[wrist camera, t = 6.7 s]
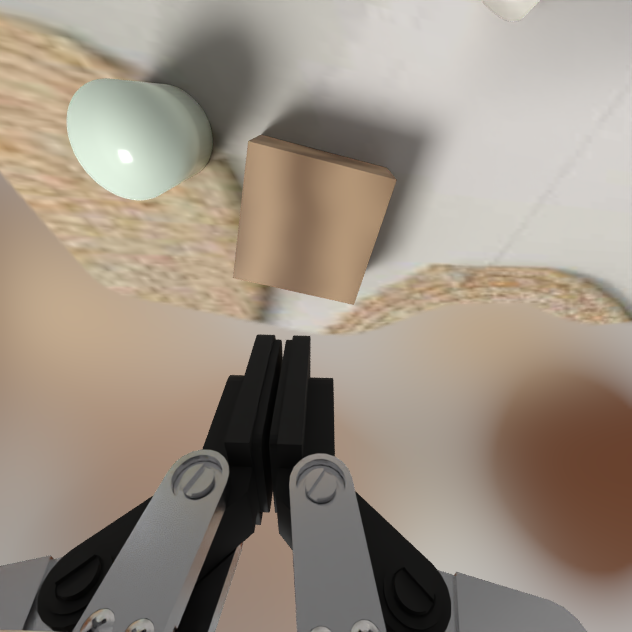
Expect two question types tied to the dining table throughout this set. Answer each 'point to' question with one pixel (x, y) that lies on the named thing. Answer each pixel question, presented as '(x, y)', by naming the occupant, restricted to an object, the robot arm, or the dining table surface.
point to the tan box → (309, 218)
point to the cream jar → (510, 8)
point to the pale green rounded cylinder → (138, 136)
